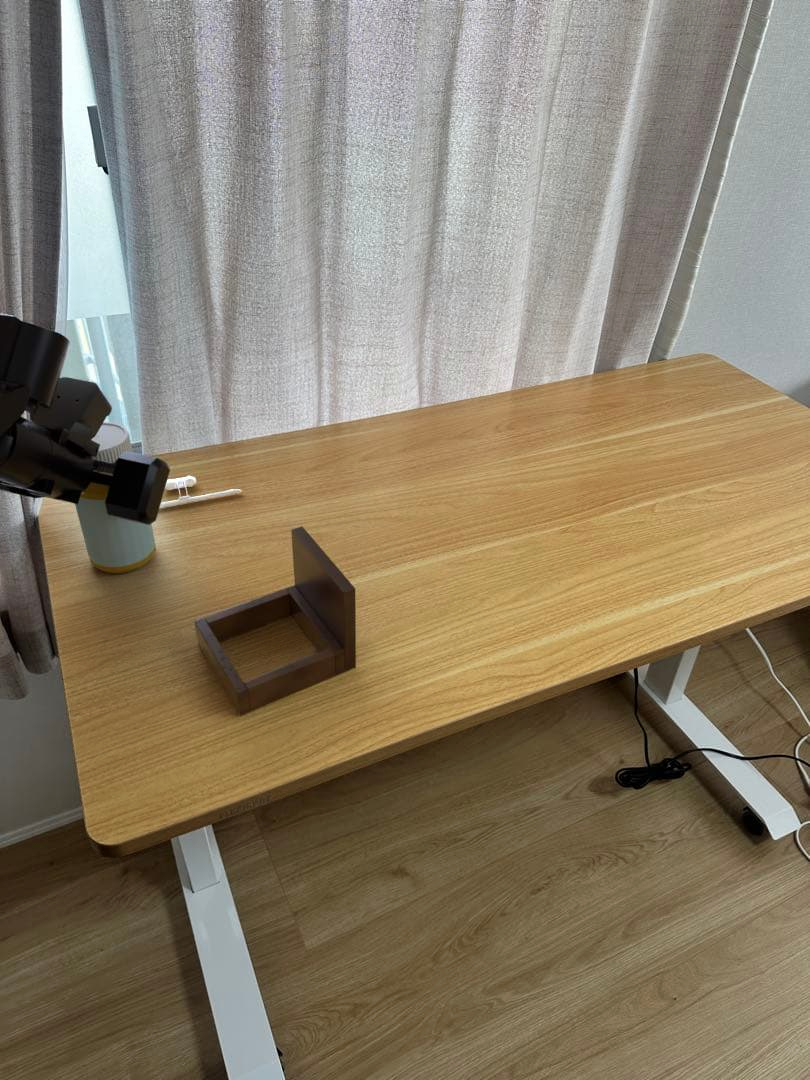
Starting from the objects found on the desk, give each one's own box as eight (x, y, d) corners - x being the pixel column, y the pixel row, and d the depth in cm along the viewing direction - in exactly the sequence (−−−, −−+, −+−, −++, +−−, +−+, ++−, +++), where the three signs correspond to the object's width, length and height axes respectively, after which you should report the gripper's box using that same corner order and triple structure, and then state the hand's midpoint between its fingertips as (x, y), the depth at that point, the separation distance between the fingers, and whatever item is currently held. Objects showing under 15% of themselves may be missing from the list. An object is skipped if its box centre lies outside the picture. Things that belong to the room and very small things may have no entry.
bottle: (143, 531, 93) (119, 413, 84) (166, 562, 88) (143, 441, 79) (82, 550, 89) (50, 431, 80) (102, 584, 85) (70, 461, 76)
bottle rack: (240, 716, 72) (228, 635, 66) (197, 643, 79) (183, 563, 73) (356, 667, 77) (355, 588, 71) (306, 602, 84) (302, 525, 78)
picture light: (125, 516, 95) (122, 501, 93) (121, 496, 98) (118, 482, 97) (243, 494, 99) (241, 480, 98) (235, 476, 102) (234, 462, 101)
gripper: (142, 384, 69) (217, 436, 84) (-39, 350, 73) (63, 405, 88) (106, 508, 68) (189, 538, 83) (-77, 467, 72) (34, 503, 87)
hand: (118, 492), depth 85 cm, fingers closed on bottle, 7 cm apart
